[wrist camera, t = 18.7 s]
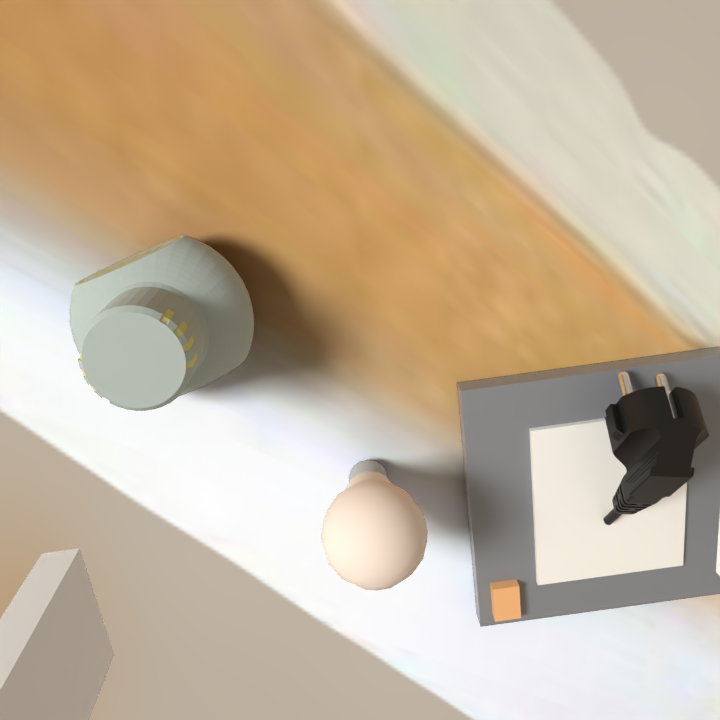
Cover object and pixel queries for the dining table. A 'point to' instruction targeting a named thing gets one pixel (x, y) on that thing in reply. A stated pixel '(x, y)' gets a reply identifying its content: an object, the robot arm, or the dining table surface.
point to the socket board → (582, 493)
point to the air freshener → (161, 323)
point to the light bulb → (373, 530)
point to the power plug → (652, 442)
